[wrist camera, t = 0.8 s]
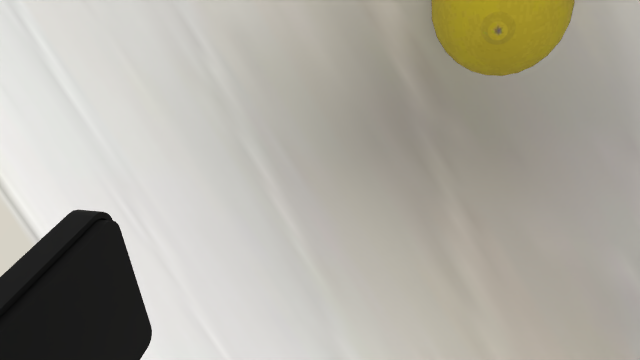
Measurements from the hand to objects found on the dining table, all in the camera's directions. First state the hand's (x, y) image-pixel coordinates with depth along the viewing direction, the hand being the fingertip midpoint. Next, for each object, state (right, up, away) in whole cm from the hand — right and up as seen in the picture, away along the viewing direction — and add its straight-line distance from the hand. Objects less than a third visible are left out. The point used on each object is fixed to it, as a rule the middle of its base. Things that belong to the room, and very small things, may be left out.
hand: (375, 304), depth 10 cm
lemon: (+8, +11, +18) cm, 22 cm away
